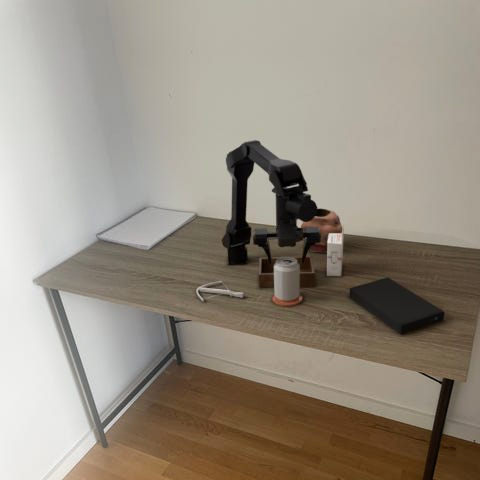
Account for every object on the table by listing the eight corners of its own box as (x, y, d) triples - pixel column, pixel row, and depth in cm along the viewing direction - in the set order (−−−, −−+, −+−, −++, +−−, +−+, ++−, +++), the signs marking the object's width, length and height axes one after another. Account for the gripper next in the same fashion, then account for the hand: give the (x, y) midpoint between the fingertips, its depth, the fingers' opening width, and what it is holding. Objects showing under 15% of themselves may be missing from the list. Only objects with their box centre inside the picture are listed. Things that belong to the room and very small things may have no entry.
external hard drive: (387, 285, 144) (388, 277, 142) (443, 320, 126) (444, 311, 124) (348, 297, 140) (349, 288, 138) (400, 335, 121) (402, 325, 120)
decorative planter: (284, 250, 172) (284, 213, 164) (298, 238, 180) (298, 203, 173) (336, 258, 163) (338, 220, 155) (348, 245, 171) (350, 209, 164)
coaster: (272, 306, 138) (272, 305, 137) (272, 292, 145) (272, 290, 145) (303, 306, 137) (303, 304, 137) (301, 291, 145) (301, 289, 144)
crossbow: (188, 301, 145) (187, 296, 144) (207, 283, 154) (206, 278, 153) (234, 307, 138) (233, 301, 137) (251, 288, 148) (250, 282, 147)
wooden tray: (259, 288, 148) (258, 274, 145) (260, 270, 158) (259, 257, 156) (314, 286, 147) (314, 272, 144) (311, 269, 157) (311, 256, 154)
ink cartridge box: (327, 264, 159) (328, 223, 151) (341, 265, 158) (344, 224, 150) (325, 276, 152) (327, 233, 144) (341, 276, 151) (343, 234, 143)
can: (302, 292, 142) (303, 257, 136) (294, 304, 137) (294, 267, 130) (279, 289, 145) (279, 253, 139) (270, 300, 140) (269, 264, 133)
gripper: (251, 223, 121) (253, 276, 129) (323, 220, 120) (321, 274, 128) (252, 208, 130) (255, 259, 139) (319, 206, 129) (318, 257, 137)
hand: (286, 263), depth 135 cm, fingers open, 9 cm apart
